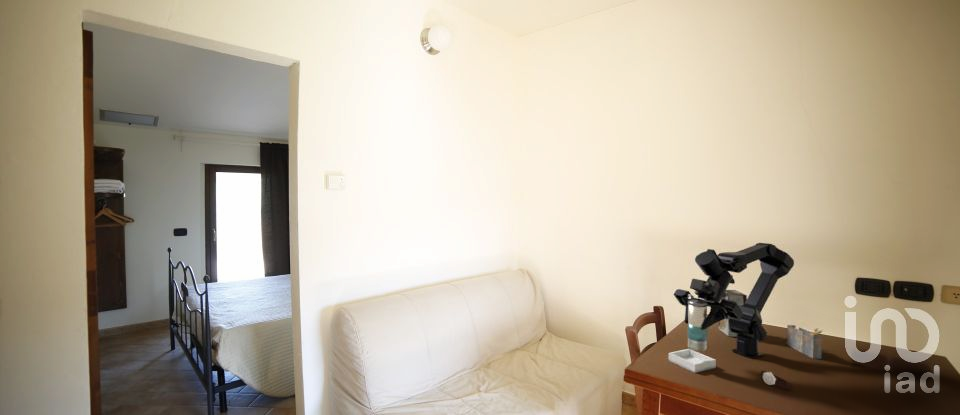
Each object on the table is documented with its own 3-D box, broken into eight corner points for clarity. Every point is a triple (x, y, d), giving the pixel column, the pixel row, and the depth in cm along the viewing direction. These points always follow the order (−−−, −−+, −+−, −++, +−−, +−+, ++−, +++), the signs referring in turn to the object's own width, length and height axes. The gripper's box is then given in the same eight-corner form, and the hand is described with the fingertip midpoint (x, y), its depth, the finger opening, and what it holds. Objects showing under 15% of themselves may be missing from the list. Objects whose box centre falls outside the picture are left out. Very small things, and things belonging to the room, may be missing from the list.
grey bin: (688, 356, 123) (688, 348, 123) (715, 367, 114) (715, 359, 114) (668, 360, 119) (668, 352, 119) (694, 372, 111) (694, 364, 111)
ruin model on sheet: (822, 360, 121) (823, 330, 121) (812, 359, 121) (813, 330, 121) (795, 346, 133) (796, 319, 132) (786, 346, 133) (787, 319, 133)
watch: (755, 378, 108) (755, 366, 108) (770, 377, 108) (770, 365, 108) (779, 391, 100) (779, 378, 100) (794, 391, 101) (795, 378, 101)
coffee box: (746, 338, 140) (747, 295, 139) (727, 336, 141) (728, 294, 141) (735, 329, 148) (736, 289, 148) (717, 328, 150) (718, 288, 149)
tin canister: (698, 343, 117) (699, 299, 117) (711, 350, 112) (711, 303, 111) (683, 344, 116) (684, 299, 116) (695, 351, 111) (695, 304, 111)
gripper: (677, 264, 124) (655, 302, 119) (737, 274, 107) (714, 318, 102) (691, 285, 127) (670, 322, 123) (752, 298, 111) (730, 341, 106)
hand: (694, 325), depth 113 cm, fingers closed on tin canister, 5 cm apart
